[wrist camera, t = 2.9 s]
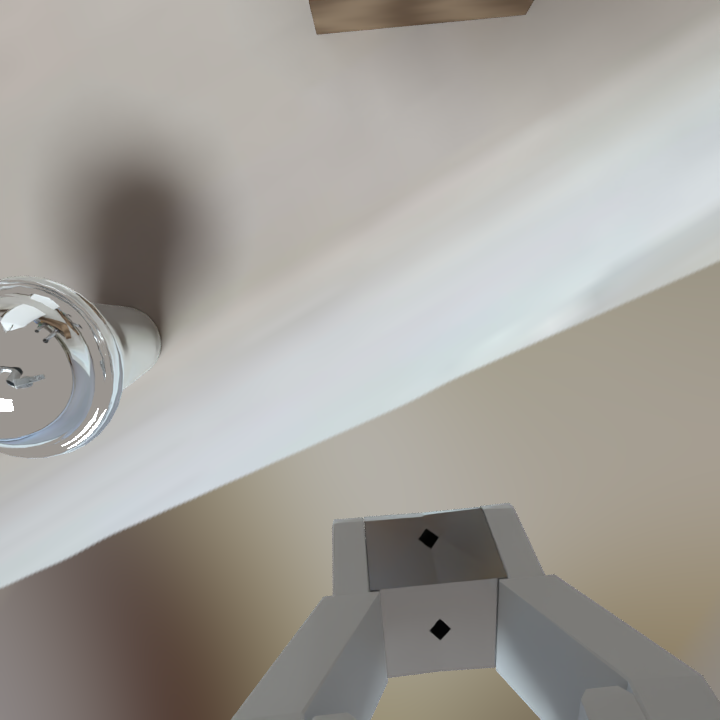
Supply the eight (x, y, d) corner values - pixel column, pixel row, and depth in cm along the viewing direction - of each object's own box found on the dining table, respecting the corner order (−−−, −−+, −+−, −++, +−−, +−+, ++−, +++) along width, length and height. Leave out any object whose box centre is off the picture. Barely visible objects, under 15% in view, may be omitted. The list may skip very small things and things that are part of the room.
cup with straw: (204, 397, 36) (-3, 549, 16) (69, 417, 37) (-292, 589, 17) (177, 264, 35) (-84, 255, 15) (37, 287, 35) (-394, 307, 15)
